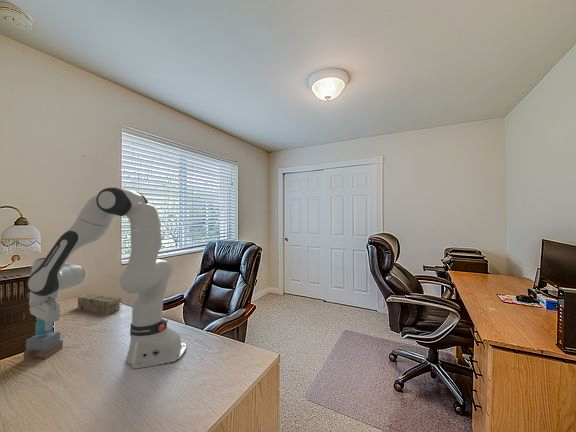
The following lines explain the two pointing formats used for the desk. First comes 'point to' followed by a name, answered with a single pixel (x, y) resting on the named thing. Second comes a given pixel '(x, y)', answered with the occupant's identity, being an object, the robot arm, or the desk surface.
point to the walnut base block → (43, 352)
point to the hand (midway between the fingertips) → (44, 328)
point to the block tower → (99, 303)
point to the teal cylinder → (42, 328)
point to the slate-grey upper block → (42, 341)
